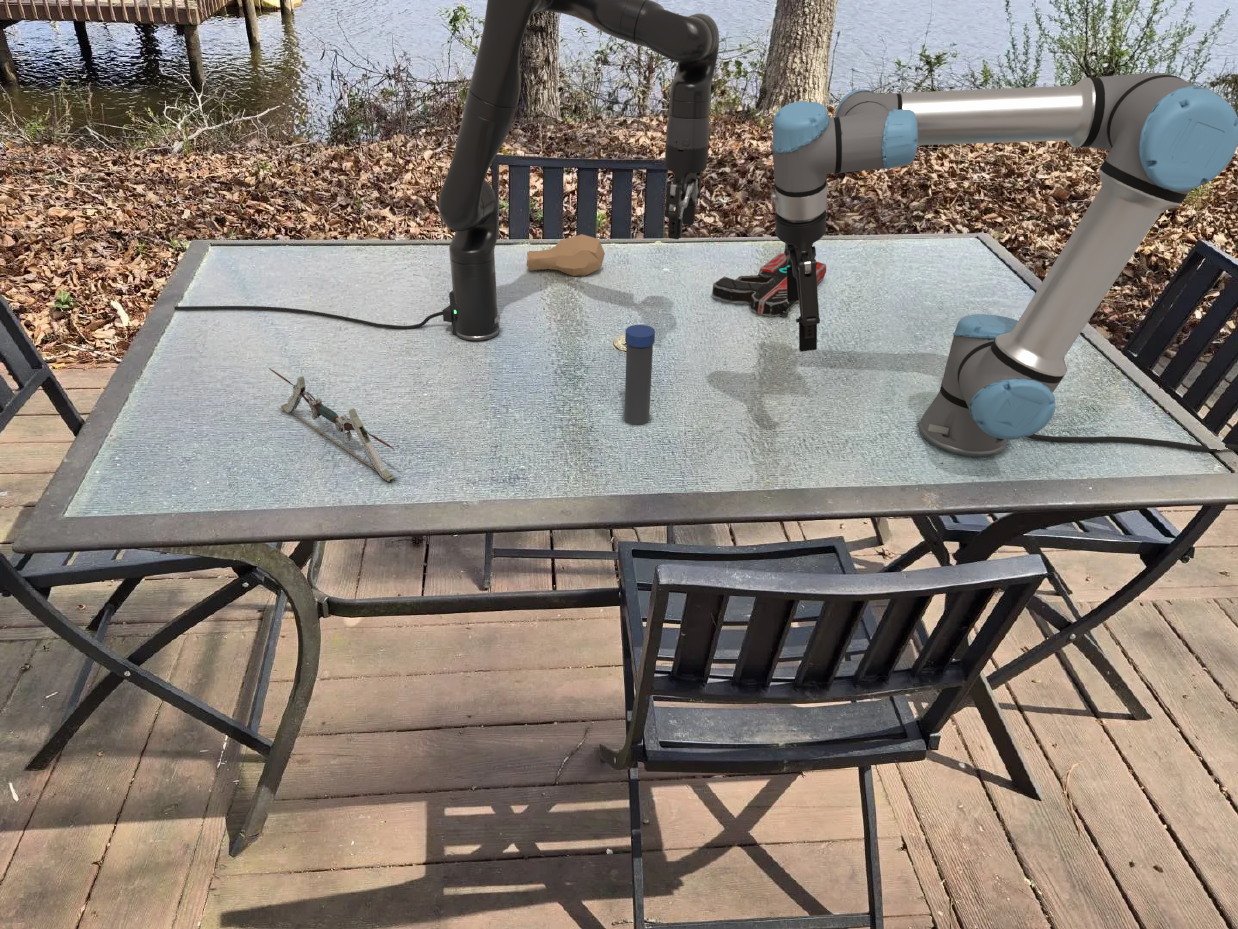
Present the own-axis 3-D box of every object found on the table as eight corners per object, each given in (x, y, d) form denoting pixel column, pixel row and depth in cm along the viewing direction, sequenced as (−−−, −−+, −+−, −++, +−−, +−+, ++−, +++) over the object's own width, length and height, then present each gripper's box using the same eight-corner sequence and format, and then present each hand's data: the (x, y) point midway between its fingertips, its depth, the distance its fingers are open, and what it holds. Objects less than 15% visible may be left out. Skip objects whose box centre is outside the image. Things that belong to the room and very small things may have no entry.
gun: (708, 284, 207) (784, 305, 199) (760, 245, 229) (831, 262, 221) (706, 302, 209) (781, 323, 201) (758, 261, 231) (828, 278, 223)
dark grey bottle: (639, 410, 166) (643, 325, 157) (654, 420, 163) (658, 335, 153) (619, 416, 164) (621, 330, 154) (633, 427, 161) (636, 340, 151)
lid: (643, 332, 158) (644, 322, 157) (660, 343, 154) (660, 333, 153) (619, 339, 155) (619, 328, 154) (635, 350, 152) (636, 339, 151)
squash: (606, 279, 220) (601, 247, 214) (527, 286, 222) (521, 255, 215) (606, 257, 228) (602, 226, 222) (531, 264, 229) (524, 233, 223)
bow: (404, 484, 144) (397, 432, 138) (395, 489, 143) (388, 437, 137) (282, 401, 165) (271, 354, 160) (273, 405, 164) (262, 357, 158)
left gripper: (679, 130, 161) (673, 217, 170) (654, 148, 150) (649, 240, 159) (718, 134, 159) (711, 222, 168) (695, 153, 148) (689, 246, 157)
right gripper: (764, 172, 140) (769, 283, 155) (787, 260, 123) (789, 375, 138) (812, 165, 139) (812, 277, 154) (841, 253, 122) (838, 369, 137)
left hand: (681, 231), depth 164 cm, fingers open, 8 cm apart
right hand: (801, 323), depth 146 cm, fingers open, 13 cm apart
